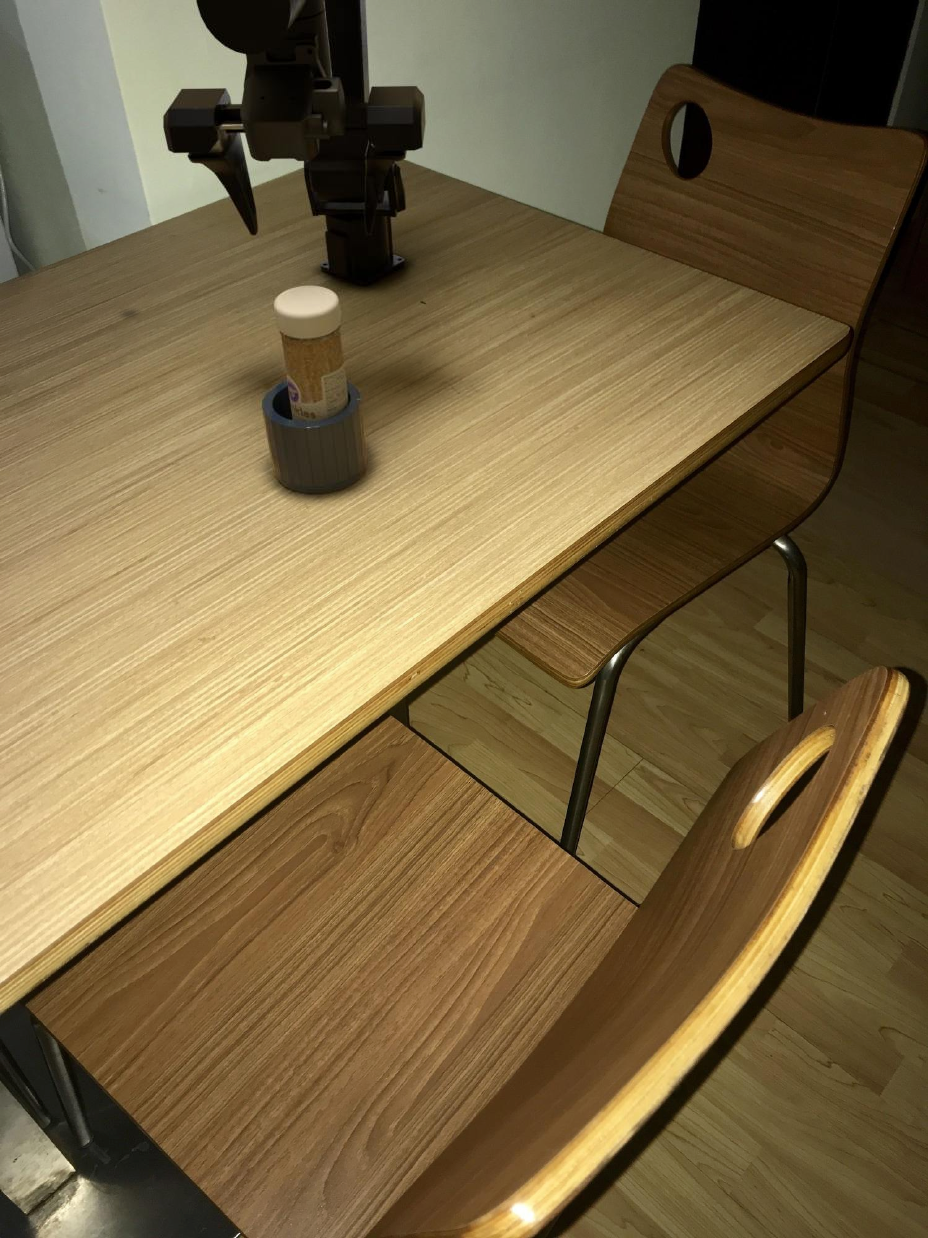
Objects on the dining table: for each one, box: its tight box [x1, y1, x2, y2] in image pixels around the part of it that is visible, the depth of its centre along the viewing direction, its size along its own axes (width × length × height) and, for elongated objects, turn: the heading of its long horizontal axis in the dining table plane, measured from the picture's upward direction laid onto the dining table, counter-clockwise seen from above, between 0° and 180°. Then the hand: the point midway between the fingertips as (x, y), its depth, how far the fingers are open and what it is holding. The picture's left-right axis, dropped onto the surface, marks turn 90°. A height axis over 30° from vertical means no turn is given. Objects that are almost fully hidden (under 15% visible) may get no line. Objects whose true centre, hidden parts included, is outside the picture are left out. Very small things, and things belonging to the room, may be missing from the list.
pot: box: [261, 379, 368, 495], centre depth 76 cm, size 7×7×6 cm
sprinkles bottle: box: [273, 285, 349, 422], centre depth 74 cm, size 5×5×14 cm
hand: (311, 232), depth 79 cm, fingers open, 9 cm apart
